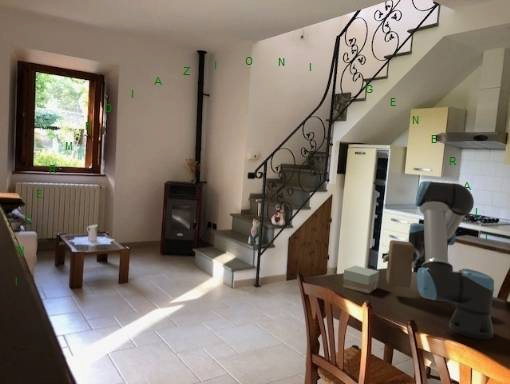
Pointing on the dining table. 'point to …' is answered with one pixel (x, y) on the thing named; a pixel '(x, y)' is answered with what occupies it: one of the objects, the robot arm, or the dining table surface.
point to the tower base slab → (360, 286)
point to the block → (400, 263)
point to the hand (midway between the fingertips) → (397, 262)
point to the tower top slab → (361, 275)
